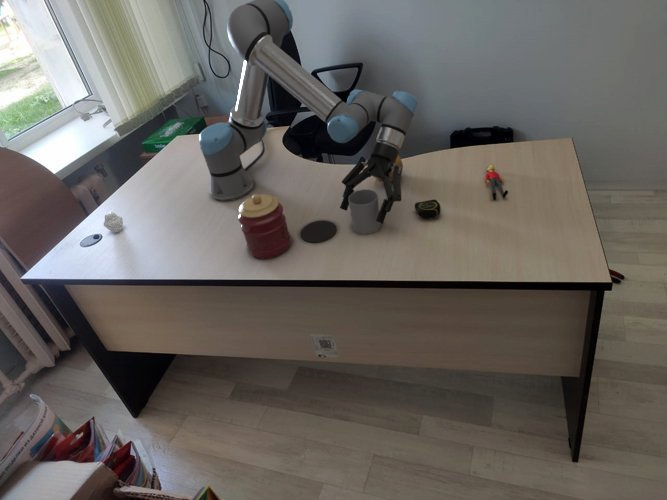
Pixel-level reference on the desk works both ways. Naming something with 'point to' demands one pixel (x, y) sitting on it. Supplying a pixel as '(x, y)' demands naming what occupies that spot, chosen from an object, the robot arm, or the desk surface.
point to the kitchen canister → (264, 226)
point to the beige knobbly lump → (113, 222)
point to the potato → (399, 163)
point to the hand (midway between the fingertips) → (360, 215)
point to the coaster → (318, 231)
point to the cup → (364, 211)
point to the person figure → (495, 181)
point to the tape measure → (428, 209)
